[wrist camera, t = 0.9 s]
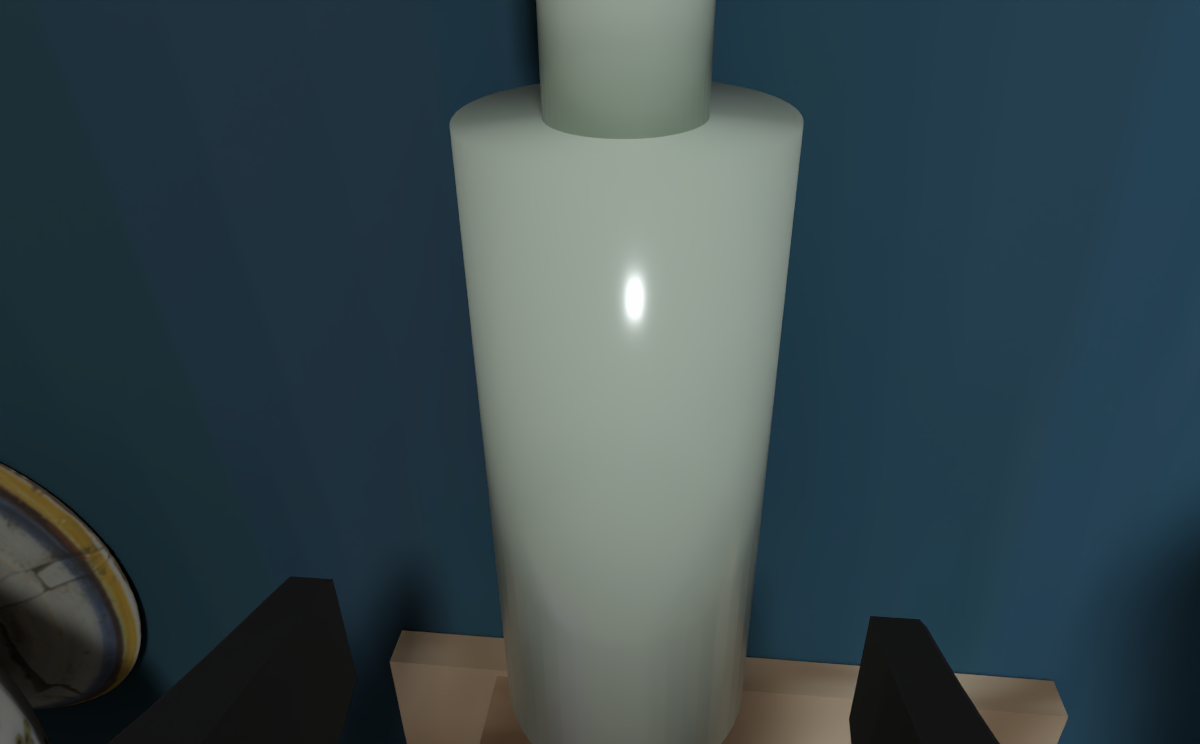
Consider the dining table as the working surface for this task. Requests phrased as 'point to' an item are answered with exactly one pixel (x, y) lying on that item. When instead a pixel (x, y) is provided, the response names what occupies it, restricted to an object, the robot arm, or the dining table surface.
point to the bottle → (626, 364)
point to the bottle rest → (761, 730)
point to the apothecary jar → (56, 611)
